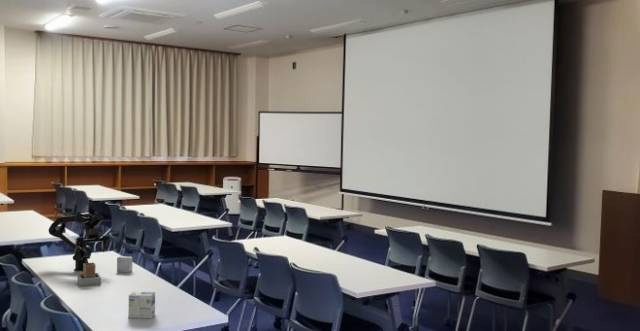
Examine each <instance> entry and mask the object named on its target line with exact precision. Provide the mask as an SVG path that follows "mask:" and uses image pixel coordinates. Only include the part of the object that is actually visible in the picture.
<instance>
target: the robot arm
mask: <svg viewBox="0 0 640 331" xmlns="http://www.w3.org/2000/svg"><path fill="white" fill-rule="evenodd" d="M103 220H104V216H103V215H102V214H101V213H99V212H98V211H94V212H93V214H90V212H89V211H88V212H81V213H77V214H74V215H61V216H58V217H57V218H56V219H55V221H53V222H52V223H51V224H50V226H49V228H48V234H49V235H51V236H52V237H54V238H55V237H56V238H58V239H60V240H61V241H62V242H64V244H66V245H67V246H69V247H70V248H71V249H72V250H73V251H74V255H73V256H72V260H73V261H74V262H75V263H74V265H75V266H74V267H75V268H74V269H73V271H77V272H78V271H80V272H83V263H89V259H91V256H92V252H93V250H92V248H91V247H90V246H89V245H88V244H87V243H99V242H101V243H100V244H101V245H100V246H101V249H102V250H101V251H102V253H104V252H105V248H106V246H107V245H109V243H110V241H111V236H110V235H109V234H104V235H102V236H101V237H99V234H102V233H103V227H102V226H100V227H98V226H99V225H100V224H101V223H102V222H103ZM71 222H72V223H73V222H74V223H76V224H77V223H78V224H83V225H82V227H81V229H84V232H85V237H86V238H85V237H84V236H80V237H79V236H78V237H76V238H74V237H73V236H71V235H70V234H69V233H67V231H66V227H67V223H71ZM98 237H99V238H98Z"/></svg>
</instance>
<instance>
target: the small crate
mask: <svg viewBox="0 0 640 331" xmlns="http://www.w3.org/2000/svg"><path fill="white" fill-rule="evenodd" d="M95 273H96V263H95V262H88V263H83V271H82V274H83V278H93V277H95Z"/></svg>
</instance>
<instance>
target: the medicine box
mask: <svg viewBox="0 0 640 331" xmlns="http://www.w3.org/2000/svg"><path fill="white" fill-rule="evenodd" d="M116 271H117V272H120V273H121V272H122V273H131V272H132V271H133V256H125V255H123V256H122V255H120V256H118V257H117V258H116Z"/></svg>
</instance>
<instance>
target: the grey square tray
mask: <svg viewBox="0 0 640 331" xmlns="http://www.w3.org/2000/svg"><path fill="white" fill-rule="evenodd" d="M77 283H78V285H79V287H88V286H96V285H97V286H98V285H102V276H101V274H99V272H95V277H93V278H83V273H82V274H81V273H79V274H77Z"/></svg>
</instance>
